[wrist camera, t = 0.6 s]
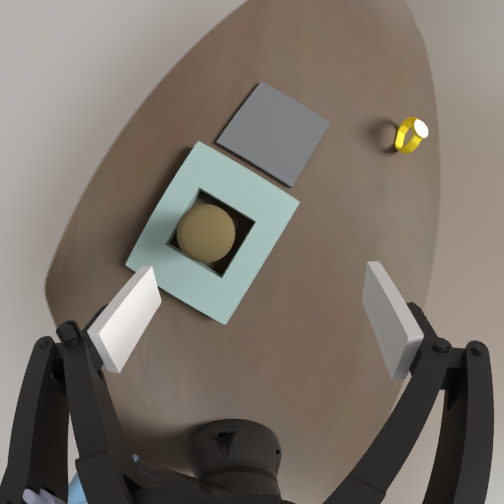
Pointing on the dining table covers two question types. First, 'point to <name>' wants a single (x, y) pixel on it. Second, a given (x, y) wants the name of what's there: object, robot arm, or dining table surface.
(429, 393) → the robot arm
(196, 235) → the cork
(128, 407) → the dining table surface
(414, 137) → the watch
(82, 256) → the dining table surface
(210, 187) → the socket board
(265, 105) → the rubber mat
